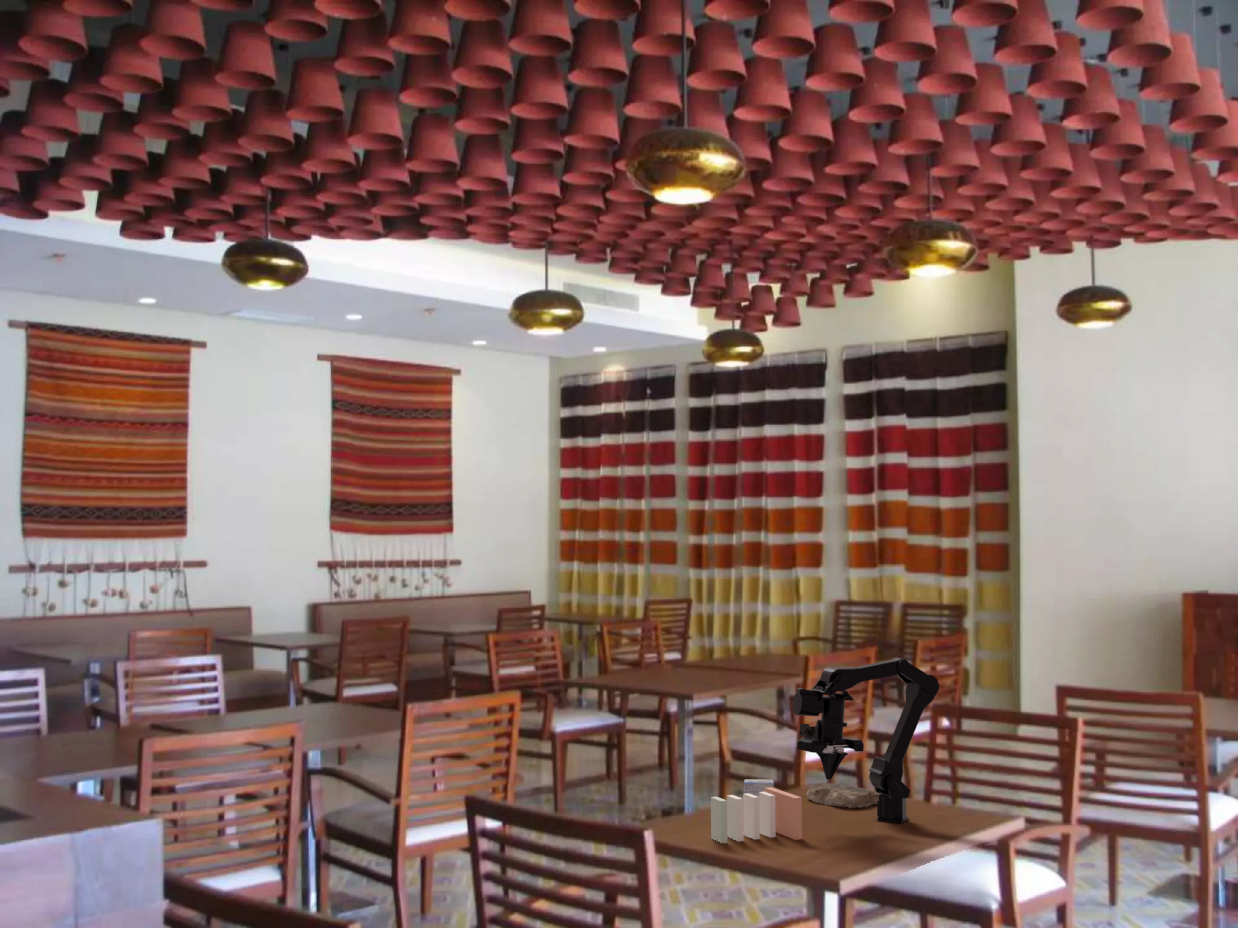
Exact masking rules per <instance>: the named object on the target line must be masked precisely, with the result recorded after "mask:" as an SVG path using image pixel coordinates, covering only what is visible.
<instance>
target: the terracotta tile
mask: <svg viewBox="0 0 1238 928" xmlns="http://www.w3.org/2000/svg"><path fill="white" fill-rule="evenodd" d="M764 792H767V793H770V794H773V795H775V826H776V833H777V834H779V835H782V836H785V837H787V838H789V839H792V840H794V841H797V840H802V839H803V817H802V816H803V811H802V810H803V809H802V808H803V807H802V805H803V804H802V803H803V802H802V801H803V800H802V797H801V796H799V795H795V794H793V793H791V792H786V791H783V790H781V789H779V788H776V787H774V788H772V787H767V788H764Z"/></svg>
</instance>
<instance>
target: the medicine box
mask: <svg viewBox="0 0 1238 928" xmlns="http://www.w3.org/2000/svg"><path fill="white" fill-rule="evenodd" d="M774 783H775V782H774V780H773V779H755V778H754V779H748V778H747V779H744V780H743V794H747V793H749V794H752V795H755V796H758V797H759V792H764V788H767V787H772V788H775V784H774Z"/></svg>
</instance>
